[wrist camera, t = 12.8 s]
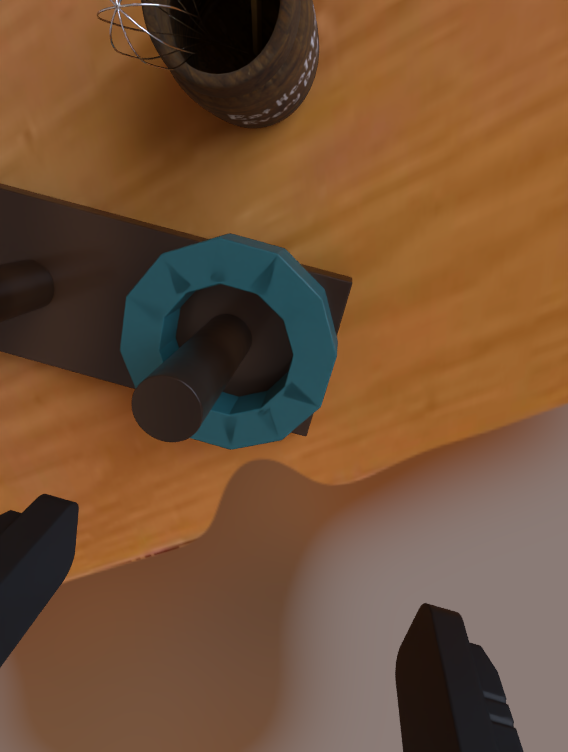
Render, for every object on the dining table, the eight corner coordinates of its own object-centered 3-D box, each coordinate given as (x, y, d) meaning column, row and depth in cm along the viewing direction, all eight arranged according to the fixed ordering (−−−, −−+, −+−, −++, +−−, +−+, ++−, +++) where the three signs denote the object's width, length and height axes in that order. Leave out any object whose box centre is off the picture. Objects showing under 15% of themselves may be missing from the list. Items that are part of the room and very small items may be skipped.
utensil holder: (167, 67, 22) (-22, -69, 11) (254, -66, 19) (129, -415, 8) (261, 160, 23) (177, 124, 11) (353, 43, 20) (360, -143, 9)
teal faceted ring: (131, 397, 27) (111, 415, 24) (156, 212, 23) (135, 214, 20) (304, 447, 26) (300, 470, 24) (360, 269, 22) (361, 277, 20)
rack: (-40, 328, 28) (-245, 397, 18) (-46, 171, 25) (-301, 154, 15) (308, 424, 27) (286, 549, 18) (352, 277, 24) (355, 331, 14)
